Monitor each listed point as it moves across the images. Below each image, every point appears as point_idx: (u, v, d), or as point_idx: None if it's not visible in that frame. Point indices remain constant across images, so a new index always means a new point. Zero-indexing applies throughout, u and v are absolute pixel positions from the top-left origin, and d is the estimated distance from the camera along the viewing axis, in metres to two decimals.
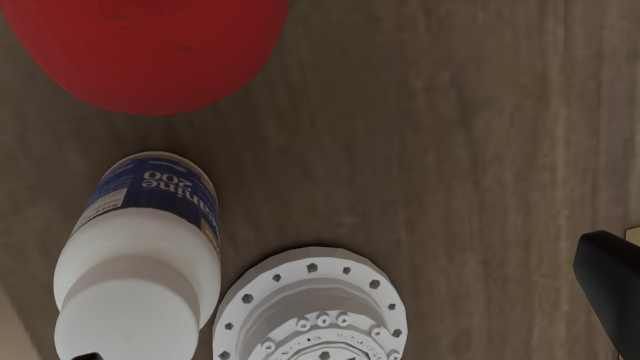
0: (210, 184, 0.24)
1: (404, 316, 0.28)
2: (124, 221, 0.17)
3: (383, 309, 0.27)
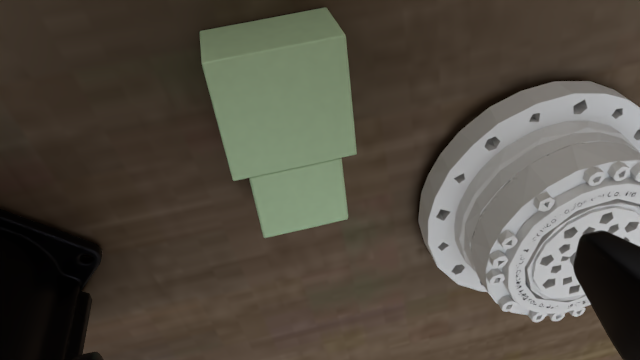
0: None
1: None
2: None
3: None
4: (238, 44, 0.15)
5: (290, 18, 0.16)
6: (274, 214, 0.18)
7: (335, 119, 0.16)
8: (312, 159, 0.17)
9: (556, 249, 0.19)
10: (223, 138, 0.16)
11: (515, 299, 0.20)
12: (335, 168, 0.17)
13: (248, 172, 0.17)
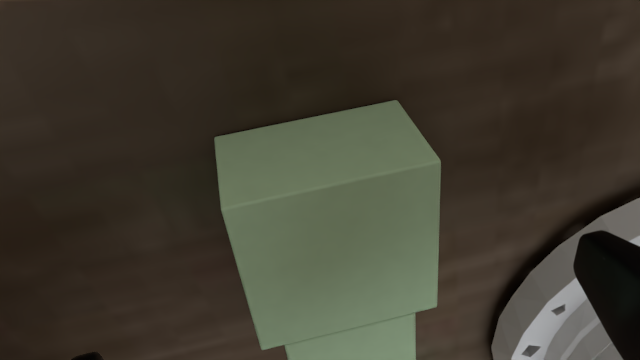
0: None
1: None
2: None
3: None
4: (276, 170, 0.10)
5: (348, 119, 0.11)
6: None
7: (413, 267, 0.11)
8: (375, 318, 0.12)
9: None
10: (250, 301, 0.11)
11: None
12: (405, 325, 0.12)
13: (283, 338, 0.11)
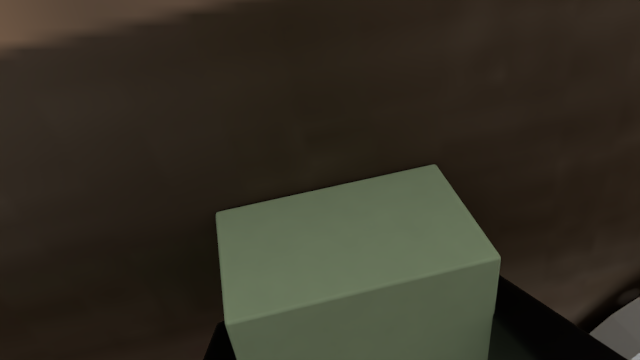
0: None
1: None
2: None
3: None
4: (293, 264, 0.08)
5: (378, 190, 0.09)
6: None
7: None
8: None
9: None
10: None
11: None
12: None
13: None
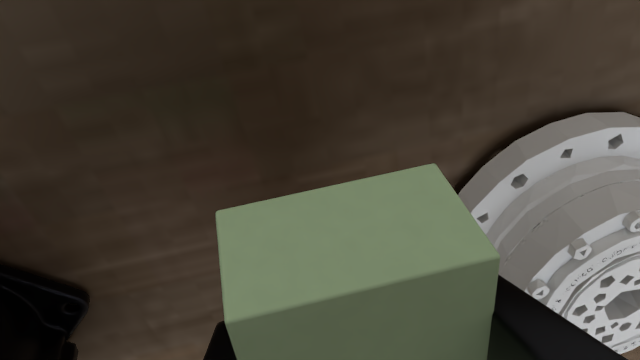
0: None
1: None
2: None
3: None
4: (292, 263, 0.08)
5: (377, 189, 0.09)
6: None
7: None
8: None
9: (591, 299, 0.17)
10: None
11: None
12: None
13: None
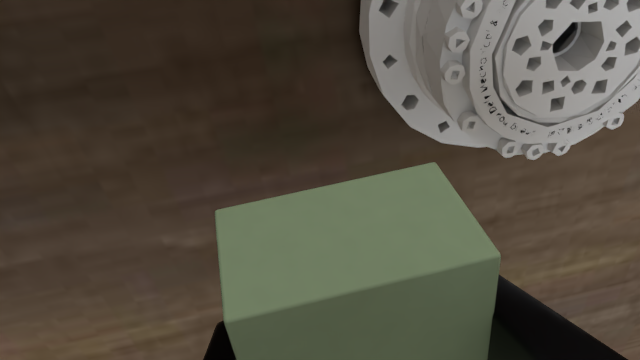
0: None
1: None
2: None
3: None
4: (292, 262, 0.08)
5: (378, 188, 0.09)
6: None
7: None
8: None
9: (534, 26, 0.14)
10: None
11: (479, 112, 0.15)
12: None
13: None
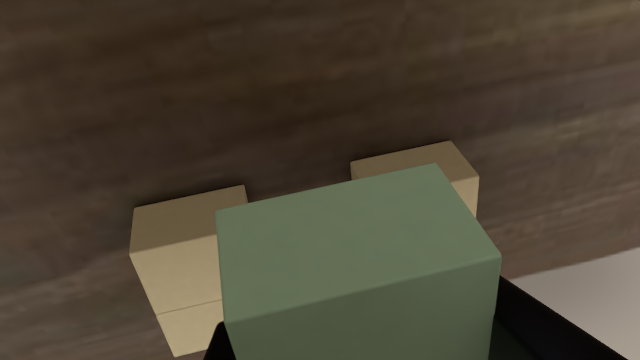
0: None
1: None
2: None
3: None
4: (292, 263, 0.08)
5: (378, 188, 0.09)
6: None
7: None
8: None
9: None
10: None
11: None
12: None
13: None
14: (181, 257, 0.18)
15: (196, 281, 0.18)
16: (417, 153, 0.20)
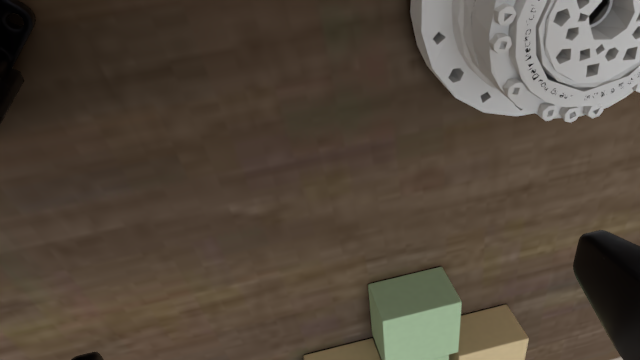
0: None
1: None
2: None
3: None
4: (398, 303, 0.26)
5: (422, 277, 0.27)
6: None
7: (449, 337, 0.27)
8: (432, 357, 0.28)
9: (573, 0, 0.16)
10: (385, 352, 0.27)
11: (523, 79, 0.17)
12: (444, 359, 0.28)
13: None
14: None
15: None
16: (485, 315, 0.30)
